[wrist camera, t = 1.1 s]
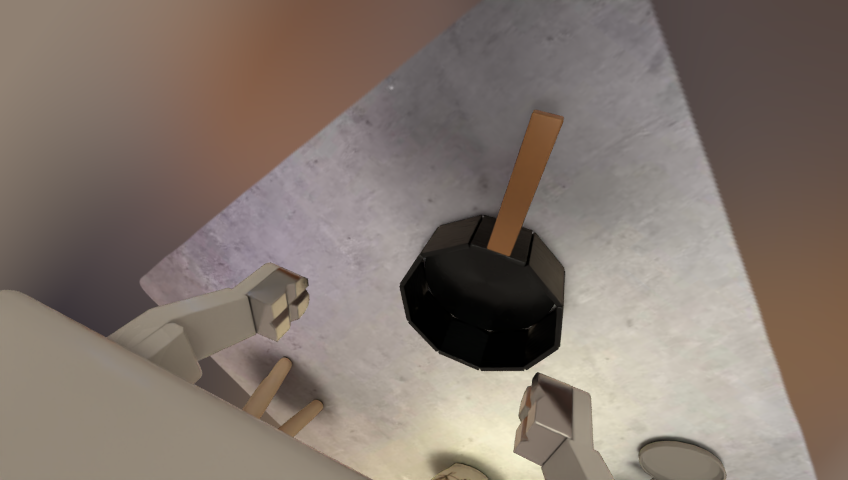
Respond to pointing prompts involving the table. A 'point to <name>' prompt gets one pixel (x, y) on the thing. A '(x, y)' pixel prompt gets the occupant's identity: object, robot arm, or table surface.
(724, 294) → the table surface
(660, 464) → the pocket watch
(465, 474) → the white floral bowl
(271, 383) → the planter
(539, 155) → the saucepan
